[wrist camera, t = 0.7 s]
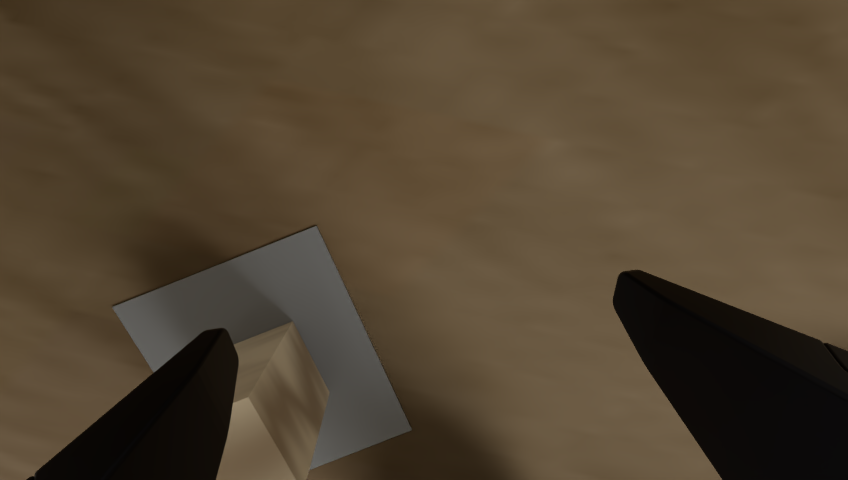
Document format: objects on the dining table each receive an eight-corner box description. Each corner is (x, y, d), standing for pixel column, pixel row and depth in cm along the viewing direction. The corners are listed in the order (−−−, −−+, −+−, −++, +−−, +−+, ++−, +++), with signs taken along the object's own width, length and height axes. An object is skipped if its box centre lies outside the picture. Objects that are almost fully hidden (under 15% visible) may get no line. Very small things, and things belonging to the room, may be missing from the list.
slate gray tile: (411, 425, 25) (411, 430, 24) (236, 493, 25) (234, 499, 25) (317, 224, 22) (316, 226, 21) (117, 304, 22) (111, 307, 21)
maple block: (329, 392, 23) (303, 492, 17) (252, 422, 24) (194, 534, 17) (292, 321, 22) (248, 397, 15) (211, 353, 22) (131, 442, 16)
